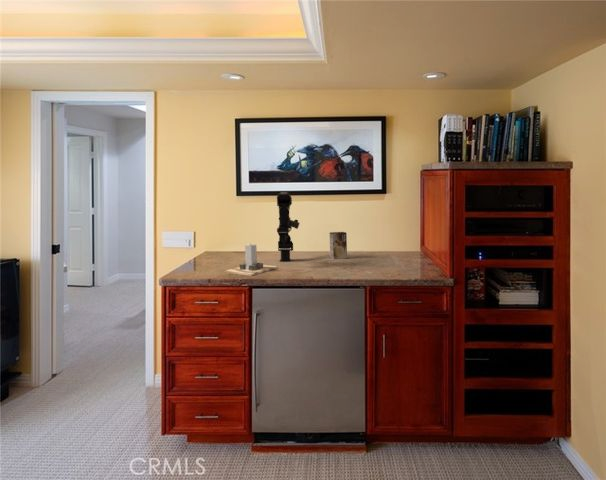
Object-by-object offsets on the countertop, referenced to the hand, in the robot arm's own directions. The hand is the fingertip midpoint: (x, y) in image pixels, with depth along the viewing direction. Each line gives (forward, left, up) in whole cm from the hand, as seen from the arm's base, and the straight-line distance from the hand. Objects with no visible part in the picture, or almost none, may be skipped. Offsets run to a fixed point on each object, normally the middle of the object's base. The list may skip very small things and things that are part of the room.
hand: (284, 243), depth 271 cm
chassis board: (+14, -17, -13) cm, 26 cm away
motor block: (+14, -17, -12) cm, 25 cm away
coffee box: (-24, +30, -13) cm, 41 cm away
